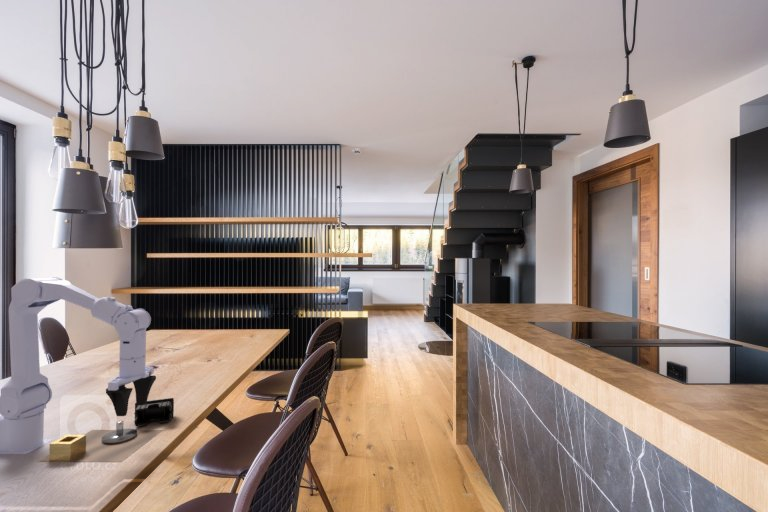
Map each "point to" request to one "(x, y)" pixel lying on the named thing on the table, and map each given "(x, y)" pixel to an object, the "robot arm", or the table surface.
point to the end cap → (154, 411)
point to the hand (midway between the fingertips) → (131, 409)
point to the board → (109, 447)
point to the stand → (119, 435)
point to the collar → (67, 447)
